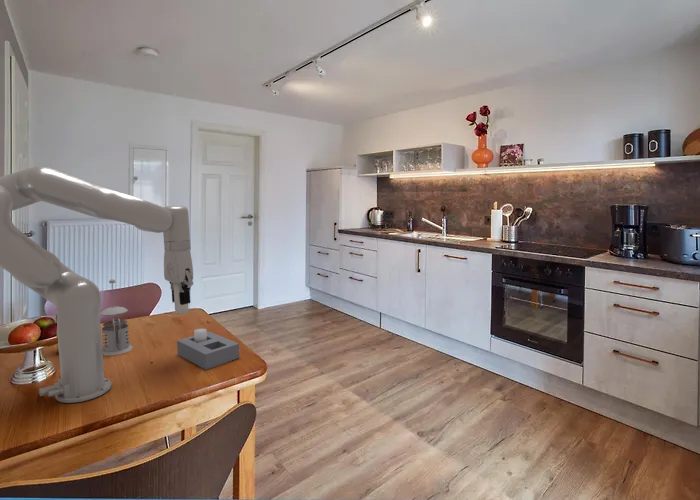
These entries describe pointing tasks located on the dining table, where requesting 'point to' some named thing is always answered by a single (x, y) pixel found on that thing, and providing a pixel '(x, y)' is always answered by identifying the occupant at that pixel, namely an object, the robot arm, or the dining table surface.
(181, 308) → the peg
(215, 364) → the socket block
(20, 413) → the dining table surface
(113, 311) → the french press
